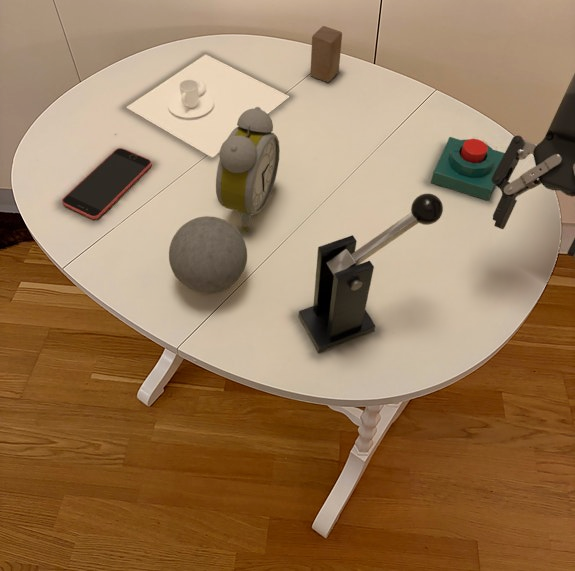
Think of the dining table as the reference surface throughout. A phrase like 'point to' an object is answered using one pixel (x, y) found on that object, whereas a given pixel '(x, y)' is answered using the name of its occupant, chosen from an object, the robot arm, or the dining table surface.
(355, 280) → the bracket
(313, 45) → the wooden block
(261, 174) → the alarm clock
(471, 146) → the button
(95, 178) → the smartphone
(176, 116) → the teacup and saucer
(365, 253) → the lever
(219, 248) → the decorative ball
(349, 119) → the dining table surface
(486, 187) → the button block
